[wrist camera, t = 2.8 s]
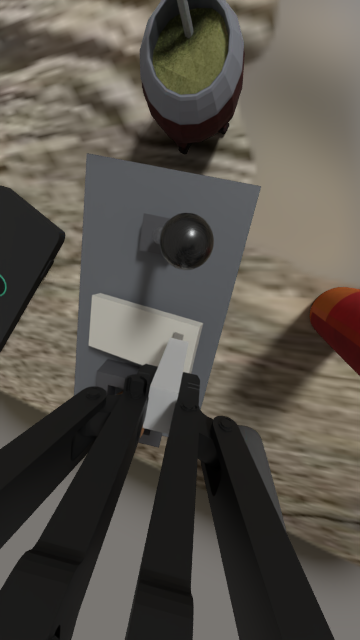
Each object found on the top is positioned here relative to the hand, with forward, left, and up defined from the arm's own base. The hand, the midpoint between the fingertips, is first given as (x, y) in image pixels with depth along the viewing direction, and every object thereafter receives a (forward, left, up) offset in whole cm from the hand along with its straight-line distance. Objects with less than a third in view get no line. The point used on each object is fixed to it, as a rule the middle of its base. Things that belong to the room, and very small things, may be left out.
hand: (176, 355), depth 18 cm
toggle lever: (+3, -8, -3) cm, 10 cm away
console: (+3, 0, -9) cm, 10 cm away
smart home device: (+23, 0, -10) cm, 25 cm away
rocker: (+3, 0, -2) cm, 4 cm away
